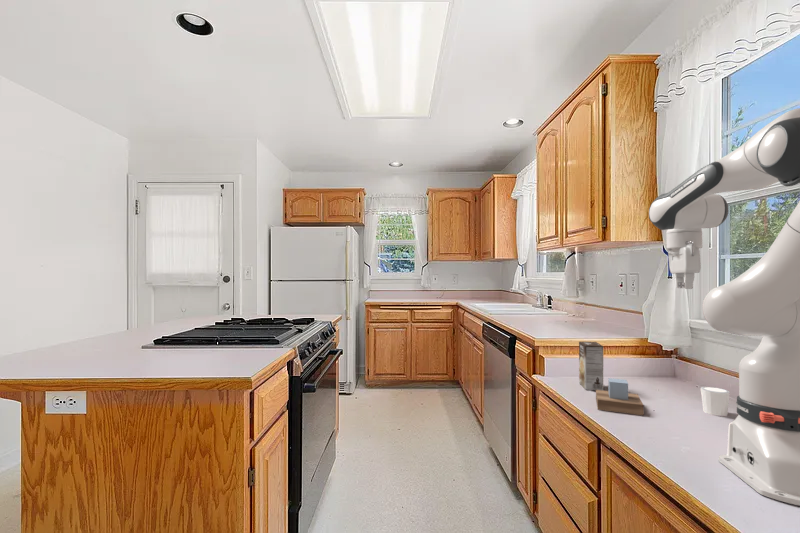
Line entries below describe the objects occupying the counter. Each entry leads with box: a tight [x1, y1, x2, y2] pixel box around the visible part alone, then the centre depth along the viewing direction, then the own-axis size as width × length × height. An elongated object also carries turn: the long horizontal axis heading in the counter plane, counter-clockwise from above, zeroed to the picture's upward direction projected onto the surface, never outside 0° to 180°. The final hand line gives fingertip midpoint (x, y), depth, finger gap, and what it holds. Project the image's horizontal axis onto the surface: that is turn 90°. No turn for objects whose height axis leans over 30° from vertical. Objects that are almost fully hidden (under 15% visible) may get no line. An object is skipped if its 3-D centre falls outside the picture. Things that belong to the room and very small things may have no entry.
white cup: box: [700, 386, 731, 417], centre depth 118 cm, size 7×7×7 cm
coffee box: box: [578, 341, 604, 391], centre depth 145 cm, size 9×6×16 cm
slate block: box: [607, 377, 629, 400], centre depth 123 cm, size 5×5×5 cm
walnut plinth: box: [595, 389, 645, 416], centre depth 123 cm, size 12×12×3 cm
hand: (684, 288), depth 119 cm, fingers open, 8 cm apart
